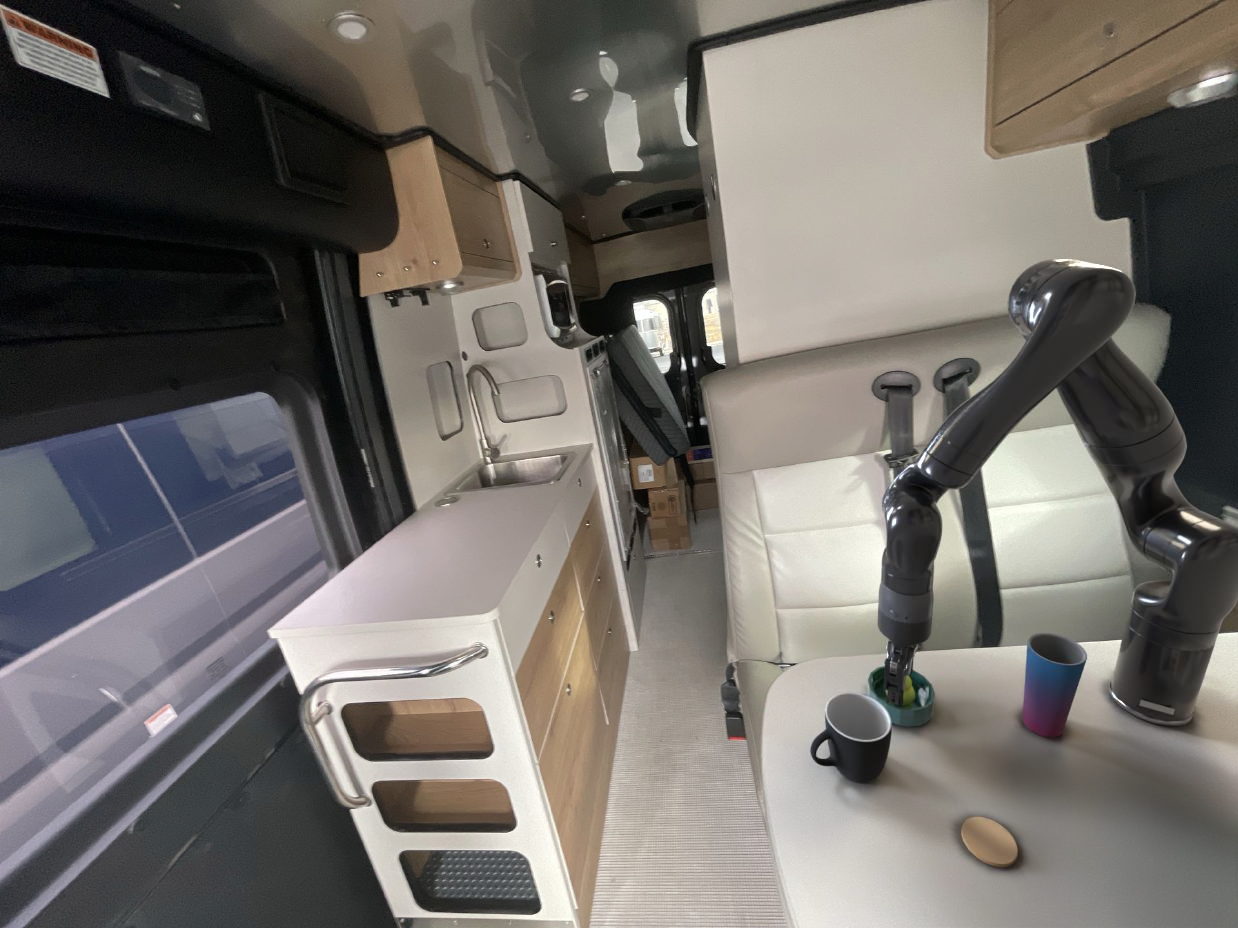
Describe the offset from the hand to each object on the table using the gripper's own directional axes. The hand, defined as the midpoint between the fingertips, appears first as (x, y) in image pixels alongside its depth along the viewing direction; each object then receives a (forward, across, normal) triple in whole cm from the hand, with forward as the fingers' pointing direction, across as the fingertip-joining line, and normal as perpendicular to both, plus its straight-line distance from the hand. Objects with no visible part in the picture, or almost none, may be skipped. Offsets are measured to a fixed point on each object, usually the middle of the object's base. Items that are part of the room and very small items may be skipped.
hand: (900, 686), depth 89 cm
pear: (+4, 0, 0) cm, 4 cm away
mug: (+4, -16, +4) cm, 17 cm away
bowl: (+4, 0, 0) cm, 4 cm away
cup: (+4, +6, -19) cm, 20 cm away
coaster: (+4, -18, -14) cm, 23 cm away
